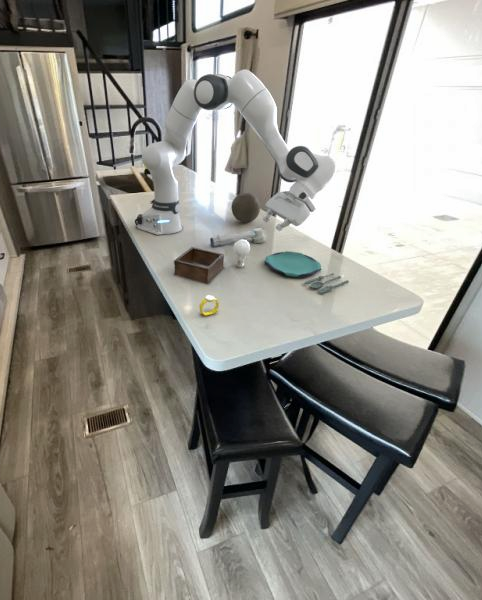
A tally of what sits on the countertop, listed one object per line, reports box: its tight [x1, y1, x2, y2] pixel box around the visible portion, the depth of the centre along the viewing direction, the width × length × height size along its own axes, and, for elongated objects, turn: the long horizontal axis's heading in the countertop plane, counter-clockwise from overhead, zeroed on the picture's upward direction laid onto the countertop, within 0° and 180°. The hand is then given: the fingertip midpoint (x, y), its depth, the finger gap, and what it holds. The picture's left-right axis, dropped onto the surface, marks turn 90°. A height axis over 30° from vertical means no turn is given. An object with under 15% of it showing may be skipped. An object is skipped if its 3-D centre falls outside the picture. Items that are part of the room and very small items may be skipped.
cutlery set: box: [264, 250, 350, 294], centre depth 119 cm, size 20×30×2 cm, turn 28°
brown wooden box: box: [173, 246, 225, 285], centre depth 118 cm, size 14×14×6 cm
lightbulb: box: [232, 239, 251, 268], centre depth 120 cm, size 6×6×11 cm
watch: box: [198, 294, 220, 316], centre depth 95 cm, size 6×3×6 cm, turn 114°
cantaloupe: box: [231, 192, 261, 224], centre depth 160 cm, size 14×14×15 cm
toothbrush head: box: [209, 227, 267, 248], centre depth 140 cm, size 5×7×25 cm
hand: (270, 224), depth 119 cm, fingers open, 8 cm apart
